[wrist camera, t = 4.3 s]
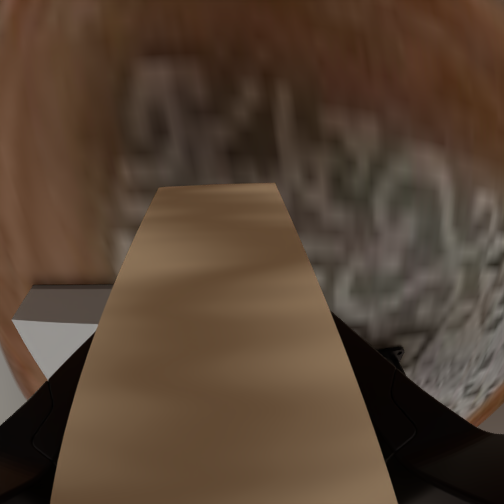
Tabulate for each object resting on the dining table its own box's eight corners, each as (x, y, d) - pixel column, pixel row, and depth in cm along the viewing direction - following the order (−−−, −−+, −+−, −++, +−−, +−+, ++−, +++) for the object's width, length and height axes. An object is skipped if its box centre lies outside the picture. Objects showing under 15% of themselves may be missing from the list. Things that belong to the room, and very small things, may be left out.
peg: (274, 183, 11) (398, 505, 2) (270, 277, 13) (326, 541, 4) (158, 187, 11) (48, 510, 2) (171, 281, 13) (142, 548, 4)
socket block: (240, 280, 21) (244, 322, 18) (243, 406, 30) (246, 440, 26) (33, 285, 20) (11, 319, 17) (95, 402, 28) (88, 433, 25)
